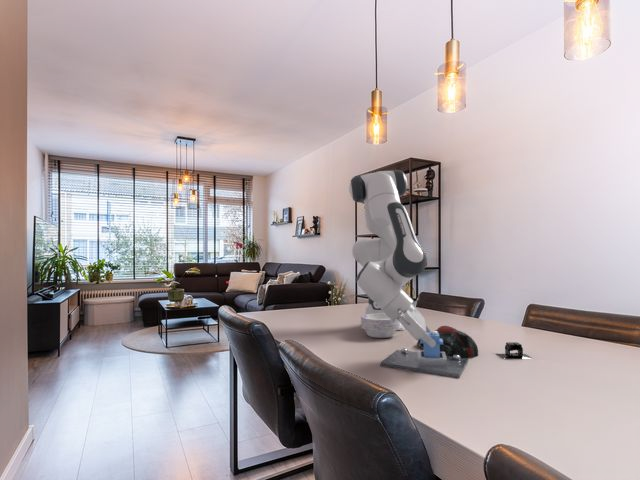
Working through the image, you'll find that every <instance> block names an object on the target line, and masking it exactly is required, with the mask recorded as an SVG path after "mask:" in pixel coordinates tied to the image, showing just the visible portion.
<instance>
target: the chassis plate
mask: <svg viewBox="0 0 640 480" xmlns="http://www.w3.org/2000/svg"><path fill="white" fill-rule="evenodd" d="M469 361H470V360H469V358H460V355H453V357H451V356H446V354H445V352H440V358H434V357H424V350H419V349H417V351H409V350H408V348H406V347H405V348H404V347H403V348H401V349H396V350H395V351H394V352H392V353H391V354H389V355H388V356H387V357H385V358H384V359H383V360H381V361H380V362H379V364H380V366H381V367H386V368H392V369H397V370H398V369H399V370H406V371H413V372H417V373H425V374H426V373H427V374H430V375H431V374H432V375H438V376H446V377H452V378H461V376H462V374H463V372H464V371H465V369H466V367H467V366H468V364H469Z"/></svg>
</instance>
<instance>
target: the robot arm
mask: <svg viewBox="0 0 640 480" xmlns="http://www.w3.org/2000/svg"><path fill="white" fill-rule="evenodd" d="M407 189H408V179H407V176H406V174H405V172H403V170H401V169H392V170H380V171H376V172H370V173H366V174H362V175H360V174H359V175H355V176H353V177H352V178H351V179H350V183H349V188H348V190H349V191H348V192H349V195H350V197H351V198H352V200H353V201H354V202H355V203H359V204H360V203H362V204H364V205H363V206H364V217H365V227H366V228H367V229H368V231H369V232H370V233H372V234H374V235H376V236H377V237H379V238H364V239H360V240H356V241H355V243H354V244H353V245H352V249H351V250H352V251H351V252H352V257H353V259H354V260H355V261H356V262H357V263H359V264H360V266H362V269H360V271H359V272H358V274H357V275H356V283H357V284H358V287H360V288H361V290H362V291H363V292H364V294H365V295H366V296H367V297H368V298H367V303H368V305H367V307H366V308H365V312H364V315H366V314H374V313H385V314H386V315H387V316H388V317H389V318H390V319H391V320H392V321H395V320H396V319H397V320H398V321H399V322H400V329H398V330H397V331H404V330H406V331H407V333H409V334H410V335H411V337H413V339H415V340H417V341H418V340H419V339H420V338H421V339H422V340H423V341H425V342H426V343H427V344H428V345H429V346H430V347H434V346H435V345H436V342H435V341H434V340H433V339H432V338H431V337H430V336H429V335H428V334H427V333H426V332H430V331H431V329H430V328H429V327H428V326H427V325H426V319H425V317H424V316H423V315H422V314H421V312H420V311H419V310H418V309H417V308H416V306H415V305H414V304H413V303H414V299H413V298H412V297H411V296H410V295H409V294H407V292H405V290H403V289H402V288H401V287H403V286H404V285H406V284H407V283H408V282H410V281H411V280H412V279H413V278H415V277H416V276H418V275H420V274H421V273H422V272H424V271H425V268H426V267H427V264H428V260H427V259H428V258H427V254H426V252H425V250H424V249H423V247H422V246H421V244H420V242H419V240H418V238H417V236H416V233H415V230H414V228H413V225H412V221H411V218H410V215H409V214H408V211H407V209H406V207H405V205H403V204H402V203H401V199H400V197H403V196H404V195H405V194H406V193H407Z"/></svg>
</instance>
